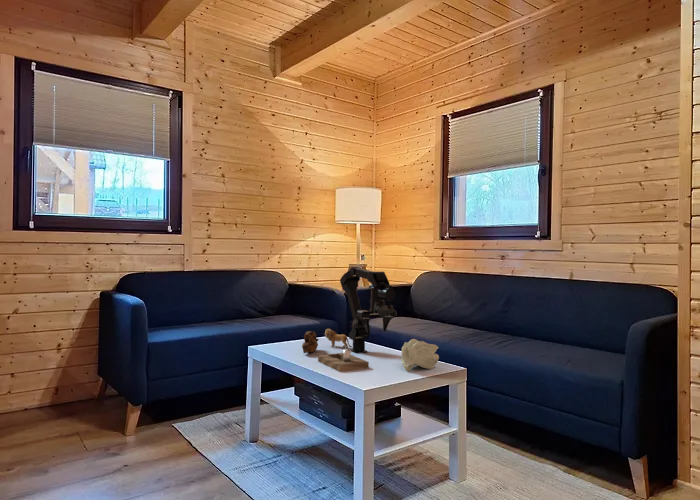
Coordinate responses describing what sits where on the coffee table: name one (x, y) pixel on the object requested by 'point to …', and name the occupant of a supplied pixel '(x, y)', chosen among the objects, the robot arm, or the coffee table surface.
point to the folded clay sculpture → (419, 355)
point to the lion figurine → (336, 337)
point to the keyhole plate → (342, 362)
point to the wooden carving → (310, 342)
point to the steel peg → (347, 355)
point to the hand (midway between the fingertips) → (376, 331)
